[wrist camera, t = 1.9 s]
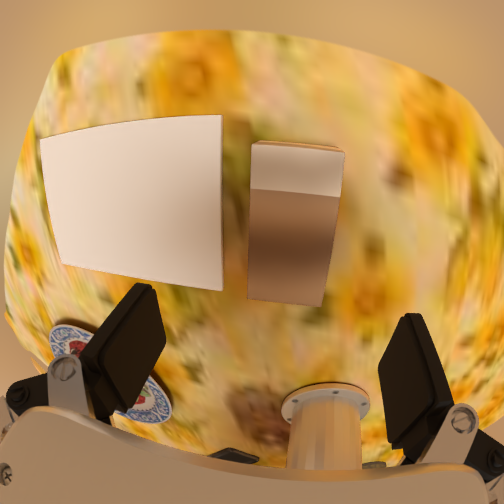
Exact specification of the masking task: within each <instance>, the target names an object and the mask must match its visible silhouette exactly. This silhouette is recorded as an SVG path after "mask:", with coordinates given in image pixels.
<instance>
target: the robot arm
mask: <svg viewBox="0 0 504 504" xmlns="http://www.w3.org/2000/svg"><path fill="white" fill-rule="evenodd" d="M165 344H166V335H165V331H164V327H163V322H162V318H161V314H160V309H159V304H158V300H157V295H156V291H155V289H152V286H151V285H149V284H144V283H136V284H134V286H133V287H132V288H131V289H130V290H129V292H128V293H127V294H126V295H125V296H124V298H123V299H122V300H121V301H120V302H119V304H118V305H117V306H116V307H115V309H114V310H113V311H112V312H111V314H110V315H109V316H108V317H107V319H106V320H105V321H104V322H103V324H102V325H101V326H100V328H99V329H98V330H97V331H96V333H95V334H94V335H93V337H92V338H91V339H90V341H89V342H88V343H87V345H86V346H85V347H84V349H83V350H82V351H81V353H80V354H81V355H80V356H79V357H78V358H77V357H76V356H74V355H72V354H62V355H60V356H58V357H56V358H55V359H53V361H52V362H51V363H50V365H49V367H48V372H47V373H45V374H41V375H38V376H34V377H32V378H28V379H24V380H20V381H17V382H15V383H13V384H12V385H11V386H10V387H9V389H8V391H7V393H6V398H5V397H4V396H2V397H0V504H504V446H503V445H502V444H500V443H499V442H497V441H496V440H494V439H493V438H491V437H490V436H489V435H487V434H486V433H484V432H483V431H481V430H480V429H478V426H479V418H478V415H477V413H476V411H475V410H474V409H473V408H472V407H471V406H470V405H467V404H464V403H459V404H456V405H454V401H453V398H452V395H451V391H450V388H449V385H448V382H447V379H446V376H445V373H444V370H443V367H442V365H441V362H440V359H439V356H438V354H437V351H436V348H435V346H434V343H433V341H432V338H431V336H430V333H429V331H428V329H427V326H426V324H425V322H424V319H423V317H422V315H421V314H420V313H406V314H405V316H404V317H401V318H400V320H399V322H398V324H397V327H396V329H395V331H394V333H393V336H392V338H391V340H390V342H389V344H388V346H387V348H386V350H385V352H384V354H383V356H382V358H381V360H380V362H379V365H378V374H379V379H380V385H381V392H382V398H383V405H384V413H385V420H386V429H387V438H388V442H389V443H392V450H394V449H402V448H403V453H404V456H403V457H402V458H401V460H400V461H399V463H398V464H397V466H395V467H385V468H373V469H362V448H361V427H360V420H361V419H363V418H364V417H365V416H366V414H367V413H368V411H369V409H370V400H369V397H368V395H367V394H366V393H365V392H364V391H363V390H361V389H360V388H357V387H355V386H352V385H347V384H340V383H324V384H316V385H312V386H307V387H304V388H302V389H299V390H297V391H295V392H293V393H291V394H290V395H289V396H287V397H286V399H285V400H284V401H283V404H282V409H281V413H282V416H283V418H284V419H285V420H286V421H287V422H288V423H289V424H291V429H290V437H289V446H288V453H287V461H286V468H275V467H266V466H258V465H251V464H244V463H238V462H232V461H227V460H222V459H217V458H212V457H207V456H203V455H199V454H195V453H191V452H187V451H183V450H180V449H176V448H173V447H169V446H166V445H163V444H160V443H156V442H153V441H150V440H148V439H145V438H142V437H139V436H136V435H134V434H131V433H128V432H126V431H123V430H120V429H118V428H116V426H115V423H114V419H113V416H112V415H113V413H114V411H115V410H117V411H119V412H122V413H124V414H126V413H127V411H128V409H131V408H133V406H134V405H135V403H136V401H137V399H138V397H139V395H140V393H141V391H142V389H143V387H144V385H145V383H146V381H147V379H148V377H149V375H150V373H151V371H152V369H153V367H154V366H155V364H156V362H157V360H158V358H159V356H160V354H161V352H162V350H163V349H164V347H165Z"/></svg>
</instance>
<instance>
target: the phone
mask: <svg viewBox="0 0 504 504" xmlns="http://www.w3.org/2000/svg"><path fill="white" fill-rule="evenodd" d="M207 457H212V458H217V459H222V460H227V461H232V462H238V463H244V464H253V463H256V462H258V461H259V457H256V456H253V455H250V454H247V453H245V452H242V451H239V450H236V449H233V448H226V449H224V450H221V451H219V452H216V453H214V454H211V455H209V456H207Z"/></svg>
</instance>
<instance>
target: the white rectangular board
mask: <svg viewBox="0 0 504 504" xmlns="http://www.w3.org/2000/svg"><path fill="white" fill-rule="evenodd" d="M40 148H41V159H42V168H43V176H44V184H45V190H46V196H47V202H48V208H49V213H50V218H51V222H52V227H53V231H54V236H55V240H56V244H57V248H58V251H59V255H60V259H61V262H62V264H67V265H72V266H77V267H82V268H87V269H92V270H97V271H102V272H107V273H112V274H118V275H123V276H129V277H134V278H140V279H146V280H152V281H158V282H164V283H170V284H177V285H183V286H189V287H196V288H203V289H210V290H217V291H223V289H224V275H223V215H222V155H223V115H200V116H180V117H167V118H156V119H146V120H137V121H129V122H122V123H115V124H109V125H103V126H97V127H92V128H87V129H82V130H77V131H72V132H68V133H64V134H59V135H55V136H51V137H47V138H44V139H40Z"/></svg>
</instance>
